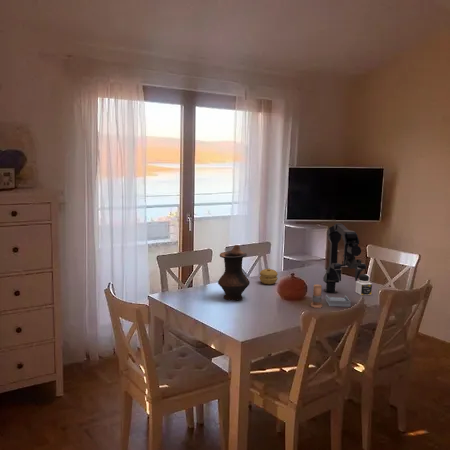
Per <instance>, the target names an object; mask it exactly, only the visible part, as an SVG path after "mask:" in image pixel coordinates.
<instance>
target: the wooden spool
mask: <svg viewBox="0 0 450 450" xmlns="http://www.w3.org/2000/svg"><path fill="white" fill-rule="evenodd" d="M322 287H323V286H322V285H321V284H313V289H312V290H313V293H312V302H311V303H310V307H311V308H315V309H322V308H323V303H322V290H323V289H322ZM321 307H322V308H321Z"/></svg>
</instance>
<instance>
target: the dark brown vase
mask: <svg viewBox="0 0 450 450" xmlns="http://www.w3.org/2000/svg"><path fill="white" fill-rule="evenodd" d="M247 256H248V254H247V253H246V252H244V251H242V250H241V248H240V245H239V244H235V245H234V246H233V247H232V249H231V250H228V251H224V252H220V254H219V257H220V258H223V260H224V261H223V262H224V272H223V274H222V275H221V277H219V278H218V279H219V280H218V281H217V284H218V285H219V287H220V288H221V289H222V290H223V292H224V295H223V299H224V300H226V301H240V300H243V295H242V294H243V292H244V291H245V290H246V289H247V287H248V286H250V284H251V283H250V280H249V278H248V277H247V276H246V275H245V273H244V272H243V259H244V257H247Z"/></svg>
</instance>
